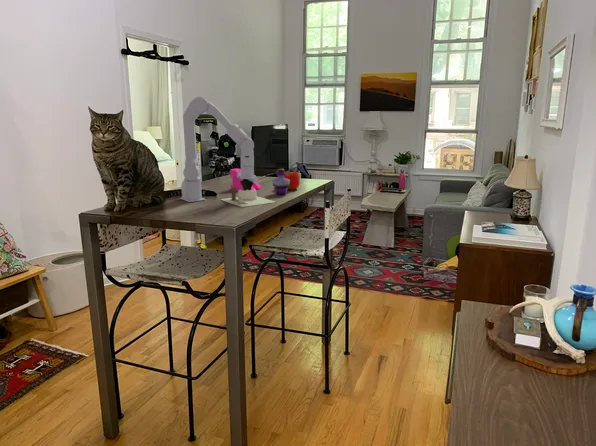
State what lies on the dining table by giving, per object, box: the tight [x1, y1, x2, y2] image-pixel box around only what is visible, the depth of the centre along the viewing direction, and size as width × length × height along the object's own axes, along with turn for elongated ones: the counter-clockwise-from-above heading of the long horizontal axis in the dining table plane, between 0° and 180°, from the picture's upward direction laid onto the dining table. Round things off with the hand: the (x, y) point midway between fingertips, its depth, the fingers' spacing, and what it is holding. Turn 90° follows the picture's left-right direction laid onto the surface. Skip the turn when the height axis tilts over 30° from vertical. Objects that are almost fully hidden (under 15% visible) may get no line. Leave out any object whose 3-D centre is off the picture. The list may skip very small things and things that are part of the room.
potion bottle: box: [271, 168, 290, 196], centre depth 212 cm, size 9×9×12 cm
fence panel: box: [237, 189, 258, 199], centre depth 198 cm, size 8×1×4 cm, turn 101°
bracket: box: [229, 167, 263, 192], centre depth 224 cm, size 12×10×10 cm
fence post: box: [230, 187, 237, 200], centre depth 197 cm, size 2×2×6 cm
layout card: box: [219, 195, 276, 208], centre depth 197 cm, size 19×17×1 cm
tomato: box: [284, 171, 301, 191], centre depth 226 cm, size 11×12×9 cm
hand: (247, 196), depth 200 cm, fingers closed, pressing on fence panel
